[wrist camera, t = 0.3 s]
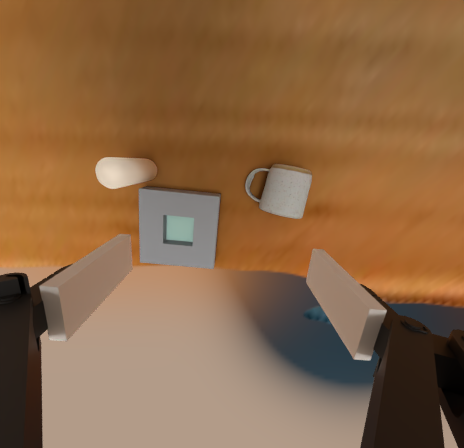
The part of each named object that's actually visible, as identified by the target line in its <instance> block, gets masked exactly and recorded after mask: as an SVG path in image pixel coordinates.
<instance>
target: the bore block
mask: <svg viewBox="0 0 464 448" xmlns="http://www.w3.org/2000/svg"><path fill="white" fill-rule="evenodd" d="M220 198H221V194H217V193H207V192H198V191H188V190H178V189H168V188H159V187H149V186H146V187H142V188H139V232H140V262H142V263H153V264H164V265H175V266H186V267H197V268H208V269H214V263H215V254H216V243H217V232H218V221H219V209H220Z"/></svg>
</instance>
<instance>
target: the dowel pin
mask: <svg viewBox="0 0 464 448" xmlns="http://www.w3.org/2000/svg"><path fill="white" fill-rule="evenodd" d="M95 172H96V176H97V178H98V180H99V182H100V183H101V184H102V185H104V186H105V187H107V188H111V189H116V188H121V187H125V186H129V185H133V184H138V183H142V182H146V181H150V180H153V179H154V178H155V177H156V175H157V167H156V165H155V163H154V162H153V161H152V160H150V159H146V158H118V157H106V158H103V159H101V160H100V161H99V162H98V163H97V165H96V169H95Z"/></svg>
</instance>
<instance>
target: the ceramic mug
mask: <svg viewBox="0 0 464 448" xmlns="http://www.w3.org/2000/svg"><path fill="white" fill-rule="evenodd" d="M259 171H268V172H269V173H268V176H267V180H266V184H265V187H264V191H263V194H262V197H261V200H260V199H258V198H256V197H255V196H254V195H253V194H252V193H251V192H250V185H251V182H252V179H253V178H254V174H255V173H257V172H259ZM311 180H312V173H311V171H309V170H307V169H303V168H299V167H294V166H289V165H283V164H274V165H273V166H272V167H271V169H267V168H259V169H255V170H254V171H252V172H251V173H250V174H249V176H248V177H247V180H246V184H245V188H246V192H247V193H248V195H249V196H250V197H251V198H252V199H253V200H255V201H257V202H259V203H260V204H259V208H260V209H261V210H264V211H266V212H269V213H272V214H275V215H279V216H284V217H289V218H295V219H299V218H302V217H303V213H304V209H305V205H306V201H307V197H308V192H309V189H310V185H311Z"/></svg>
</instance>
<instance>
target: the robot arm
mask: <svg viewBox="0 0 464 448" xmlns="http://www.w3.org/2000/svg"><path fill="white" fill-rule="evenodd" d="M131 270H132V251H131V235H128V234H119V235H117V236H116V237H114V238H113V239H111V240H110V241H108V242H106V243H105V244H103V245H102V246H100V247H99V248H97V249H96V250H94V251H93V252H91V253H89V254H88V255H86V256H85V257H83V258H82V259H80V260H79V261H77V262H76V263H74V264H71V265H68V266H65V267H63V268H61V269H59V270H58V271H56V272H54V274H51V275H50V276H48V277H47V278H45V279H43V280H42V281H40V282H38V283H37V284H35V285H34V286H32V287H30V286H29V281H28V277H27V275H26V274H24V273H9V274H4V275H0V448H42V379H41V378H42V375H41V340H40V335H41V334H42V333H44V332H45V331H46V330H48V335H49V340H56V341H57V340H58V341H67V340H68V339H69V338H70V337H71V336H72V335H73V334H74V333H75V332H76V331H77V330H78V328H79V327H80V326H81V325H82V324H83V323H84V322H85V321H86V320H87V319H88V318H89V316H90V315H91V314H92V313H93V312H94V311H95V310H96V309H97V308H98V307H99V306H100V304H101V303H102V302H103V301H104V300H105V299H106V298H107V297H108V296H109V295H110V294H111V292H112V291H113V290H114V289H115V288H116V287H117V286H118V285H119V284H120V283H121V281H122V280H123V279H124V278H125V277H126V276H127V275H128V274H129V272H131ZM306 283H307V285H308V286H309V288H310V289H311V291H312V293H313V294H314V296H315V297H316V299H317V301H318V302H319V304H320V305H321V307H322V309H323V310H324V312H325V313H326V315H327V317H328V318H329V320H330V321H331V323H332V325H333V326H334V328H335V329H336V331H337V332H338V334H339V336H340V338H341V339H342V341H343V342H344V344H345V345H346V347H347V349H348V350H349V352H350V353H351V355H352V357H353V358H354V359H358V360H370V359H371V356H372V353H373V351H374V350H375V352H376V353H377V354H378V356H379V360H378V363H377V366H376V369H375V372H374V375H373V377H375V378H374V383H373V388H372V393H371V398H370V402H369V407H368V412H367V418H366V422H365V427H364V433H363V437H362V442H361V448H444V439H443V430H442V421H441V412H440V406H441V408H442V410H443V412H444V415H445V417H446V420H447V422H448V424H449V426H450V429H451V431H452V434H453V436H454V438H455V441H456V443H457V446H458V448H464V331H462V330H453V331H452V332H451V334H450V336H449V338H446V337H442V336H438V335H434V334H432V333H431V331H430V330H429V329H428V328H427V327H426V326H425V325H423V324H422V323H420V322H419V321H416V320H414V319H412V318H409V317H406V316H400V315H398V314H397V313H396V312H395V311H394V310H393V309H392V308H390V307H389V306H388V305H387V304H386V303H385V302H384V301H382V299H381V298H380V297H377V295H376V294H375V293H374V292H373V291H372V290H371V289H369V288H367V287H366V286H364V285H362V284H359V283H358V282H357V281H356V280H355V279H354V278H353V277H351V276H350V275H349V274H348V273H347V272H346V271H345V270H344V269H343V268H342V267H341V266H340V265H339V264H338V263H337V262H336V261H335V260H334V259H333V258H332V257H330V256H329V255H328V254H327V253H326V252H325V251H324V250H322V249H313V251H312V256H311V260H310V265H309V270H308V275H307V280H306Z"/></svg>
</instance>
